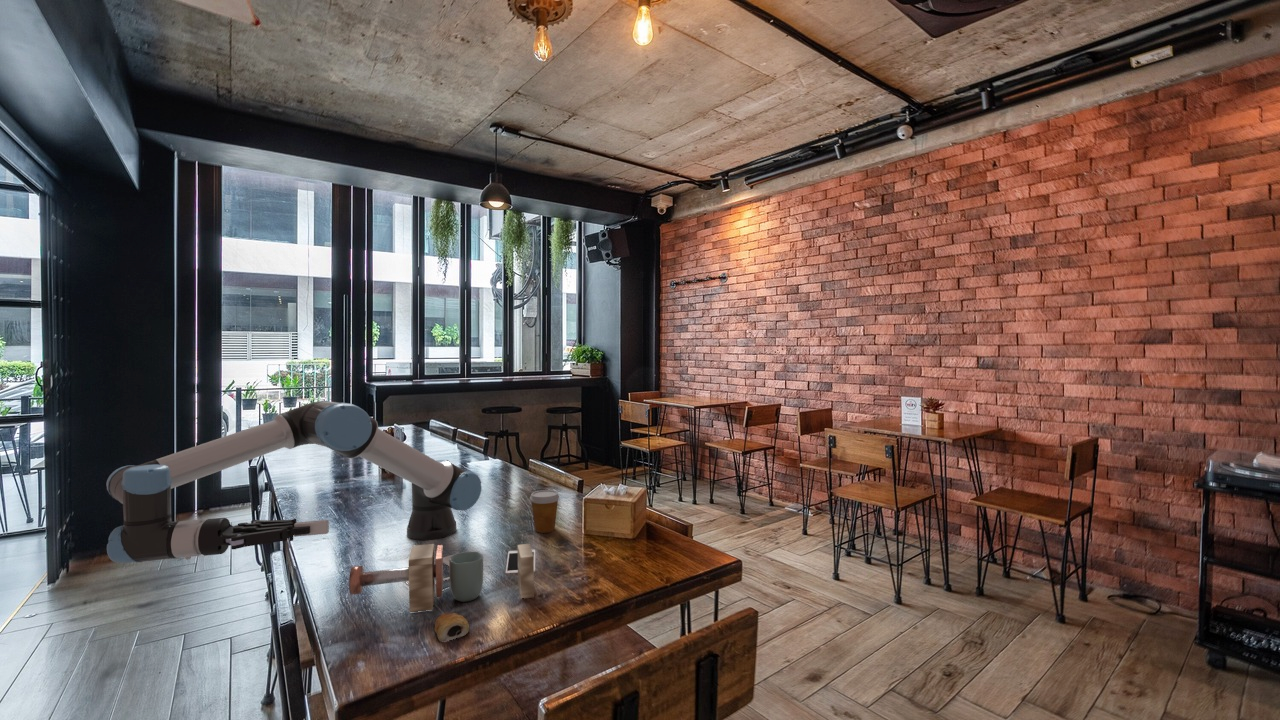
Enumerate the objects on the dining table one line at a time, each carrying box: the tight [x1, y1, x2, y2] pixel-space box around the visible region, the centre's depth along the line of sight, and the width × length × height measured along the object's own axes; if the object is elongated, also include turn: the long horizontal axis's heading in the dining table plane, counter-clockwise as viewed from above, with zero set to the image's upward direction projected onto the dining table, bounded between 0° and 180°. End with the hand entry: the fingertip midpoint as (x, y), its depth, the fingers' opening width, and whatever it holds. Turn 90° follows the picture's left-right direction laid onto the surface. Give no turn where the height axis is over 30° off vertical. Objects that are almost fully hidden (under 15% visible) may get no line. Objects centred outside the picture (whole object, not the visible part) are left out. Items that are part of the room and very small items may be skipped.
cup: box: [448, 550, 484, 603], centre depth 137 cm, size 8×8×10 cm
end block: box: [517, 543, 535, 600], centre depth 141 cm, size 3×9×10 cm, turn 17°
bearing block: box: [408, 543, 436, 613], centre depth 134 cm, size 5×9×12 cm, turn 17°
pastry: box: [434, 612, 470, 642], centre depth 122 cm, size 9×7×4 cm
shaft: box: [348, 544, 444, 598], centre depth 132 cm, size 20×9×9 cm, turn 107°
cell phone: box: [505, 549, 536, 575], centre depth 160 cm, size 8×16×1 cm, turn 10°
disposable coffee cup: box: [529, 489, 560, 534], centre depth 186 cm, size 10×10×12 cm
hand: (327, 526), depth 128 cm, fingers closed
